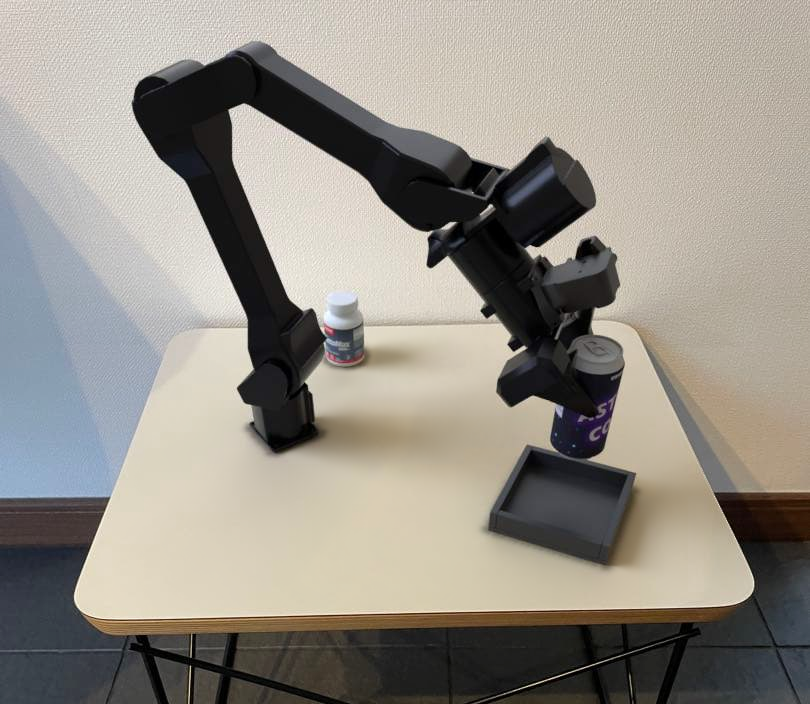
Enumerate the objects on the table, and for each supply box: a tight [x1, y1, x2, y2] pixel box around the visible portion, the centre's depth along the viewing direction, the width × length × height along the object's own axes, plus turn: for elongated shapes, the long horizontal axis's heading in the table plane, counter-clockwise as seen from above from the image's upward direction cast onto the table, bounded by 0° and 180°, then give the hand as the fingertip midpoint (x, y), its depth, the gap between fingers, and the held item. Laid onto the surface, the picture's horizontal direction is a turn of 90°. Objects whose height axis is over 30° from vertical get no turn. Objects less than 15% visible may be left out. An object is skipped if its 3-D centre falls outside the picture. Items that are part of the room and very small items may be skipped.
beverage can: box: [549, 334, 626, 461], centre depth 76 cm, size 6×6×12 cm
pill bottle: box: [323, 290, 365, 367], centre depth 102 cm, size 5×5×9 cm
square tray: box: [487, 444, 637, 566], centre depth 83 cm, size 13×13×3 cm
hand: (600, 398), depth 75 cm, fingers closed on beverage can, 5 cm apart
